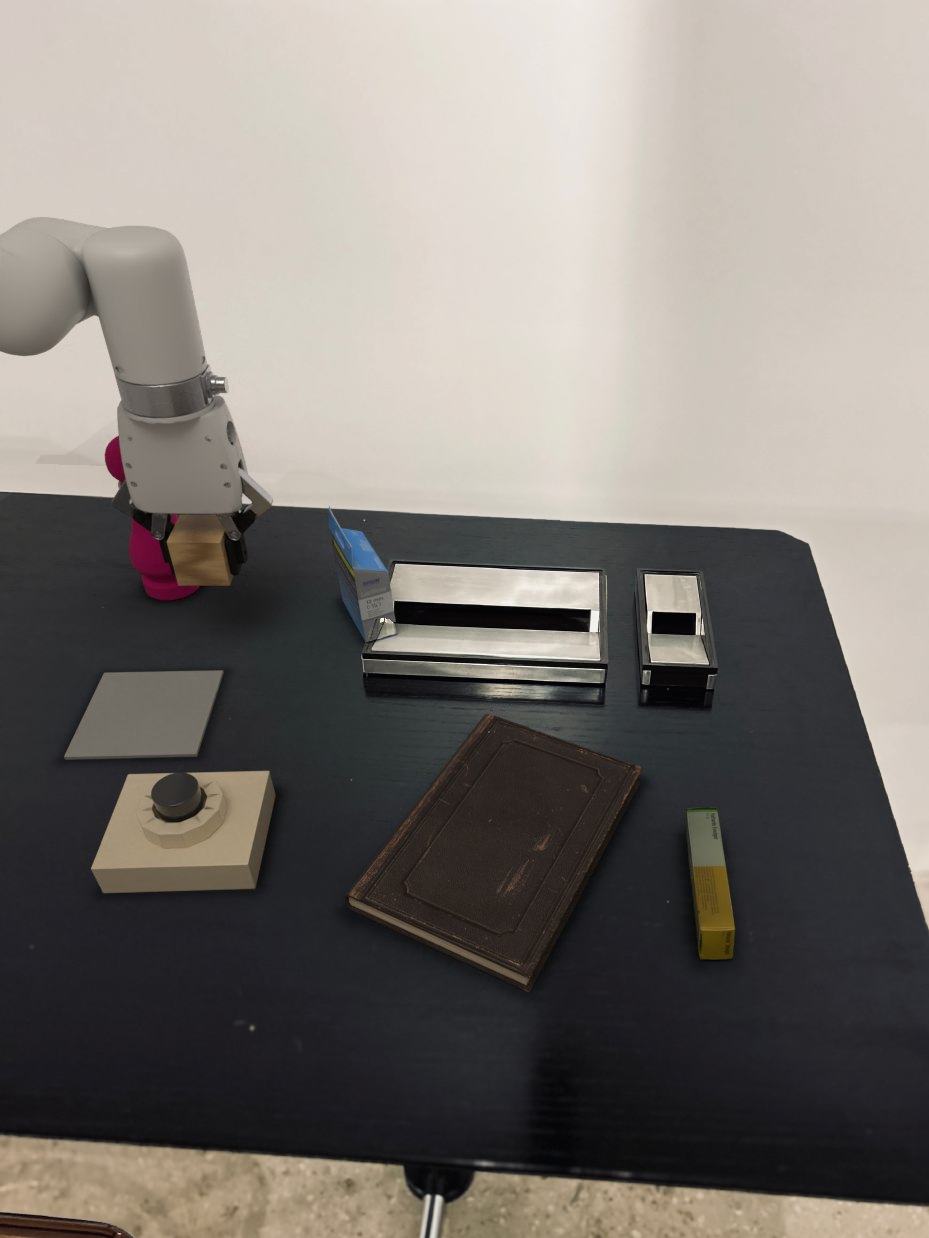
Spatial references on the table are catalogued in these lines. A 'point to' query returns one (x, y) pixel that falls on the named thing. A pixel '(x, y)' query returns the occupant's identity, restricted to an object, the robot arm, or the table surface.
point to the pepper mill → (146, 544)
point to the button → (177, 797)
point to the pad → (146, 715)
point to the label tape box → (361, 577)
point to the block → (199, 551)
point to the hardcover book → (498, 849)
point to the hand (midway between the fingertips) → (208, 566)
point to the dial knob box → (187, 837)
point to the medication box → (709, 884)
